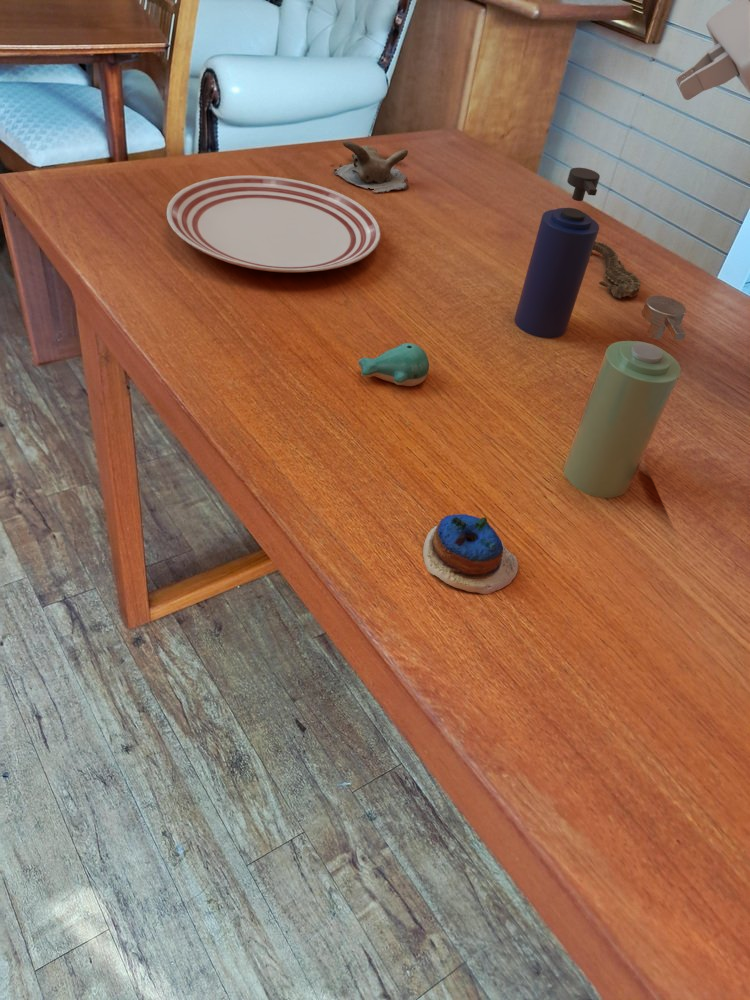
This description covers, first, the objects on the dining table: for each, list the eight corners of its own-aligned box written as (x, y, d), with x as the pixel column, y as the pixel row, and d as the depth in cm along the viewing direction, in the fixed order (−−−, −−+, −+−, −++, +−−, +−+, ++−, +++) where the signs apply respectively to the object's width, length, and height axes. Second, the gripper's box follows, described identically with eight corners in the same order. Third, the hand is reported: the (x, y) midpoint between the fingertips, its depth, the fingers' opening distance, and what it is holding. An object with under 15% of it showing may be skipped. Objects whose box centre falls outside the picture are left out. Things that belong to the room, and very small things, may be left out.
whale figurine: (430, 393, 82) (437, 363, 80) (361, 392, 81) (365, 361, 79) (420, 362, 87) (426, 332, 84) (354, 361, 85) (358, 330, 83)
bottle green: (619, 456, 78) (671, 333, 69) (637, 500, 74) (696, 375, 64) (556, 452, 78) (601, 327, 68) (571, 496, 73) (621, 368, 64)
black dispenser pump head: (588, 194, 87) (595, 169, 85) (600, 215, 83) (609, 189, 81) (560, 191, 87) (567, 165, 85) (571, 212, 83) (579, 186, 81)
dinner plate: (392, 219, 114) (396, 196, 111) (356, 309, 94) (359, 283, 91) (208, 183, 115) (208, 160, 113) (133, 265, 95) (131, 238, 93)
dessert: (402, 558, 64) (438, 494, 62) (426, 552, 70) (459, 494, 69) (486, 613, 61) (525, 548, 60) (503, 602, 67) (539, 543, 66)
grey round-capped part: (666, 327, 67) (678, 297, 65) (688, 363, 63) (702, 332, 61) (630, 323, 66) (641, 293, 64) (649, 360, 62) (662, 329, 60)
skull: (415, 195, 123) (424, 155, 120) (352, 191, 117) (360, 150, 114) (382, 173, 130) (390, 135, 126) (321, 169, 124) (327, 129, 120)
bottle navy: (560, 313, 99) (594, 203, 89) (571, 340, 94) (608, 227, 85) (510, 308, 98) (539, 197, 89) (519, 336, 94) (551, 221, 84)
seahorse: (600, 248, 114) (603, 236, 113) (648, 301, 104) (652, 288, 103) (565, 251, 113) (567, 239, 112) (609, 304, 103) (613, 291, 102)
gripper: (790, -58, 77) (653, 37, 84) (852, -25, 62) (679, 88, 68) (812, 3, 80) (679, 90, 86) (878, 49, 64) (709, 150, 71)
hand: (679, 89), depth 77 cm, fingers closed
